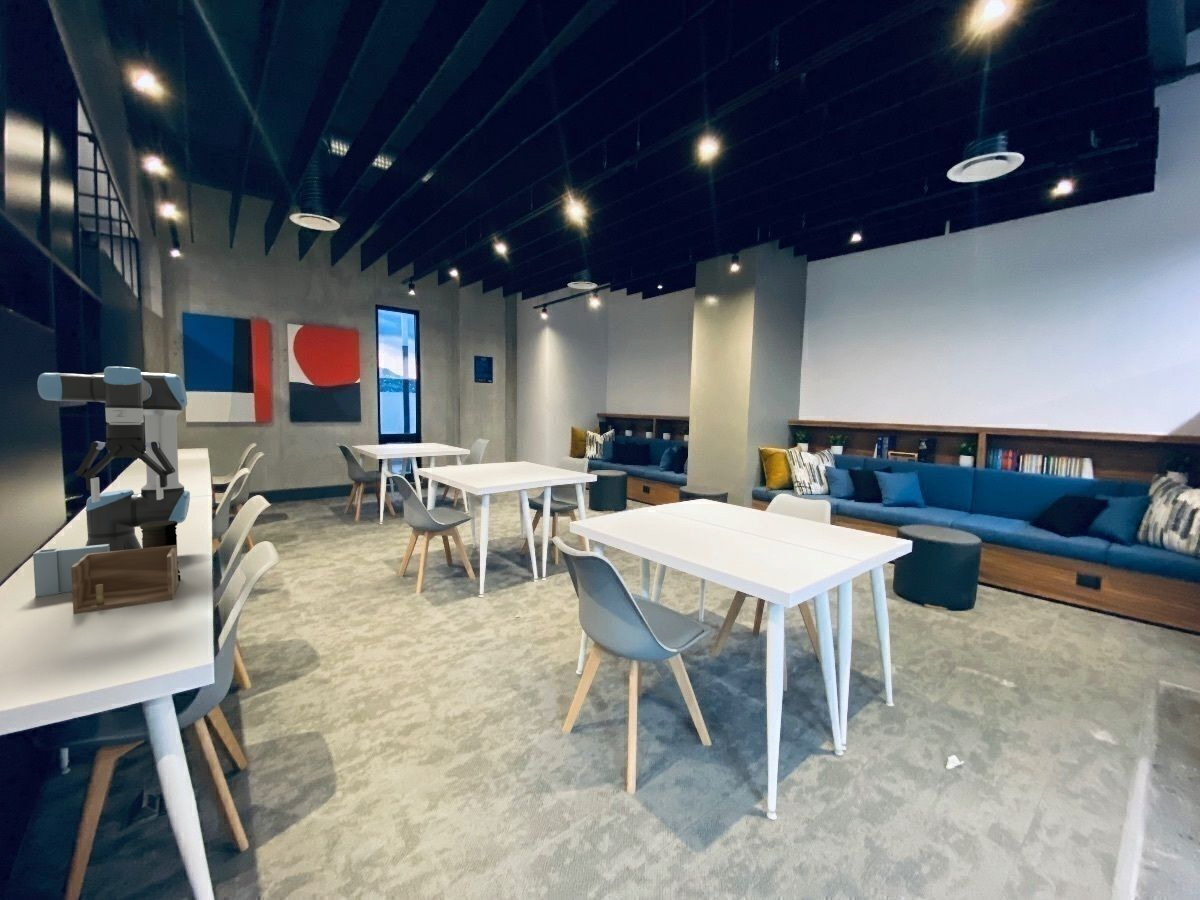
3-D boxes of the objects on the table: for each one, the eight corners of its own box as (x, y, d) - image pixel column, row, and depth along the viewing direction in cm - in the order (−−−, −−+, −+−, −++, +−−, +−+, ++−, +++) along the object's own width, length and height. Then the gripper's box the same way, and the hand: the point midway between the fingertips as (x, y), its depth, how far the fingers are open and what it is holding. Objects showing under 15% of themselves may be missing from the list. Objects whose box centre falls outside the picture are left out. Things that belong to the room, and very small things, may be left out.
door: (41, 592, 140) (38, 549, 139) (111, 583, 148) (110, 543, 147) (35, 597, 136) (32, 553, 135) (108, 587, 144) (106, 546, 144)
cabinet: (88, 596, 137) (86, 553, 136) (178, 584, 148) (177, 544, 147) (73, 613, 126) (71, 567, 125) (172, 599, 136) (170, 556, 136)
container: (135, 583, 148) (132, 524, 147) (172, 575, 156) (170, 518, 155) (149, 589, 144) (146, 527, 143) (186, 580, 152) (184, 522, 150)
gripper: (55, 423, 128) (59, 505, 129) (178, 424, 139) (181, 500, 140) (70, 422, 135) (74, 500, 136) (186, 424, 145) (189, 496, 147)
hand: (128, 500), depth 138 cm, fingers open, 13 cm apart
